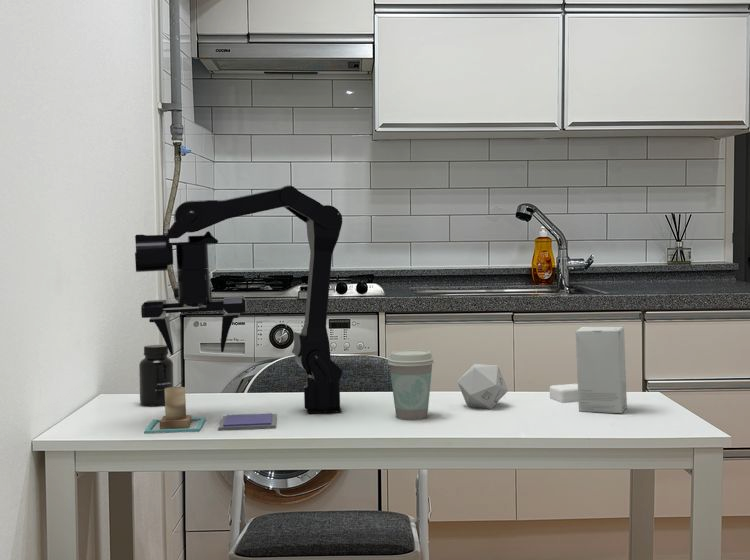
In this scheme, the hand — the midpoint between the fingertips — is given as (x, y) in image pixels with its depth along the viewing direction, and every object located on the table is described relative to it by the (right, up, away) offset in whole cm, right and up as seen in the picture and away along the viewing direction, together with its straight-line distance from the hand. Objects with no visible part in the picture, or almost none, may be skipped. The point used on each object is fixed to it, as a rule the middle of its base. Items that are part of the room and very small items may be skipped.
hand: (197, 353), depth 156 cm
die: (+54, -11, +8) cm, 56 cm away
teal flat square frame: (-3, -13, -4) cm, 14 cm away
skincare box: (+76, -11, +2) cm, 77 cm away
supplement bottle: (-12, -12, +18) cm, 25 cm away
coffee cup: (+40, -12, 0) cm, 42 cm away
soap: (+73, -11, +13) cm, 75 cm away
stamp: (-3, -13, -4) cm, 14 cm away
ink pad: (+10, -13, -3) cm, 16 cm away
